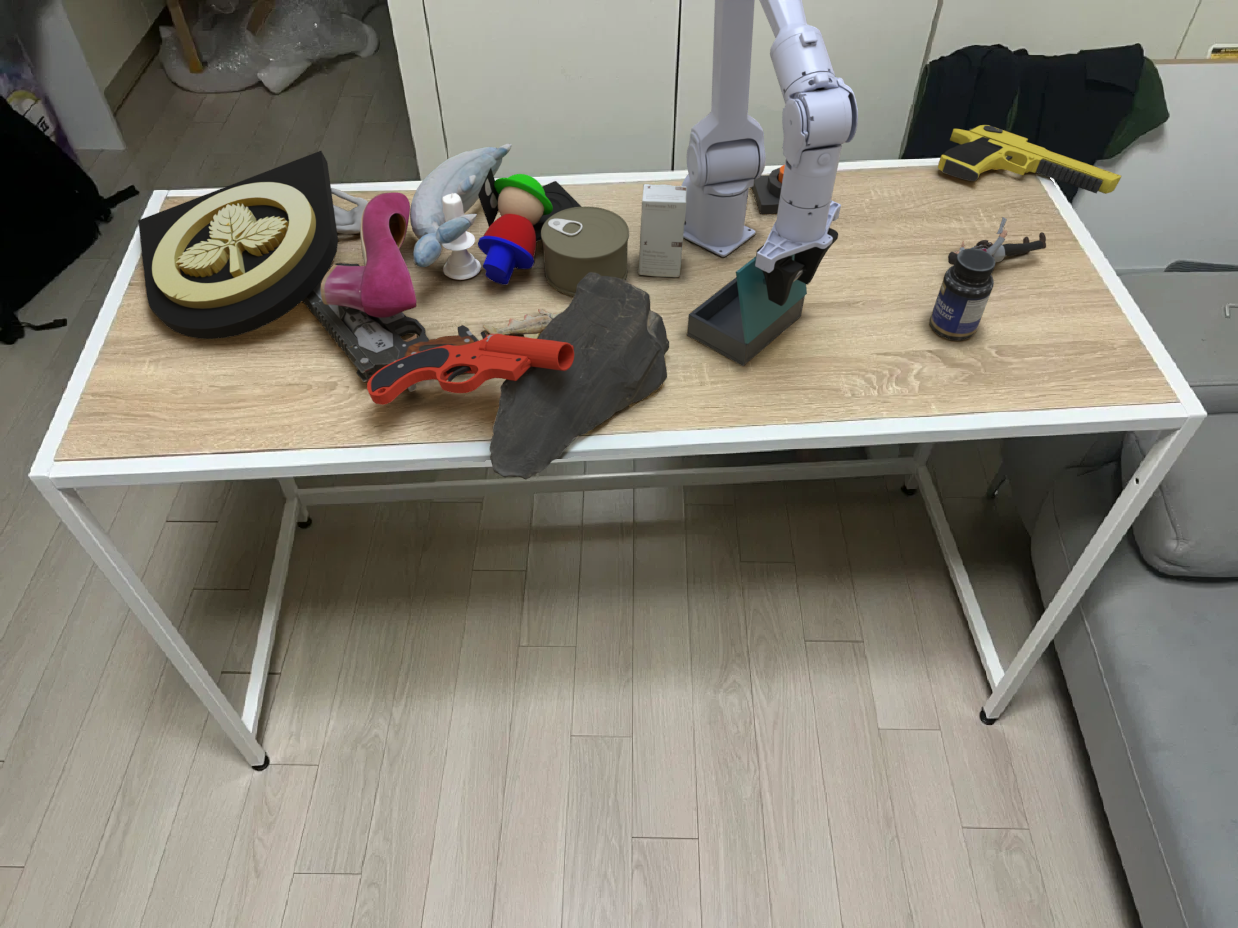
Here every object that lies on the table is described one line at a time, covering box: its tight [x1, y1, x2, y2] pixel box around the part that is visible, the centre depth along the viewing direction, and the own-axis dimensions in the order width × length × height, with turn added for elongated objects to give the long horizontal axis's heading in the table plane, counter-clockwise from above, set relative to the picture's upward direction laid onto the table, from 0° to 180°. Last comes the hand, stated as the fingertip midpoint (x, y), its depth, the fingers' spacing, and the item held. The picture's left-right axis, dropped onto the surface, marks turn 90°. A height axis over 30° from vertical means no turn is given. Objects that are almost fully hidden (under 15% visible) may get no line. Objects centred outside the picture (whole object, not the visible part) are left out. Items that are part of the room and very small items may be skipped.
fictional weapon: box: [301, 262, 480, 392], centre depth 123 cm, size 28×4×15 cm
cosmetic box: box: [638, 183, 687, 278], centre depth 128 cm, size 6×4×12 cm
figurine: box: [331, 187, 369, 235], centre depth 137 cm, size 10×6×20 cm
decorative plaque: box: [137, 150, 339, 340], centre depth 128 cm, size 28×4×30 cm
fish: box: [482, 308, 563, 339], centre depth 123 cm, size 12×2×5 cm
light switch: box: [533, 180, 583, 243], centre depth 137 cm, size 10×4×10 cm
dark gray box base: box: [686, 277, 806, 367], centre depth 123 cm, size 9×13×4 cm
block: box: [751, 167, 782, 215], centre depth 143 cm, size 10×8×4 cm
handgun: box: [937, 124, 1122, 195], centre depth 147 cm, size 4×26×15 cm
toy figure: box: [477, 168, 553, 286], centre depth 129 cm, size 9×10×15 cm
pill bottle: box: [929, 247, 996, 342], centre depth 120 cm, size 6×6×11 cm
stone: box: [489, 272, 670, 480], centre depth 112 cm, size 16×12×30 cm
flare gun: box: [366, 331, 574, 406], centre depth 108 cm, size 3×23×15 cm
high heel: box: [321, 191, 417, 318], centre depth 124 cm, size 26×9×12 cm
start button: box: [778, 164, 785, 183], centre depth 141 cm, size 4×4×2 cm
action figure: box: [947, 216, 1047, 266], centre depth 131 cm, size 9×7×15 cm
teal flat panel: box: [735, 254, 808, 344], centre depth 115 cm, size 10×13×4 cm
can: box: [541, 206, 630, 298], centre depth 130 cm, size 12×12×7 cm
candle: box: [442, 193, 482, 281], centre depth 128 cm, size 5×5×12 cm
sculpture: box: [409, 143, 513, 268], centre depth 130 cm, size 18×8×25 cm
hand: (789, 290), depth 115 cm, fingers closed on teal flat panel, 5 cm apart
